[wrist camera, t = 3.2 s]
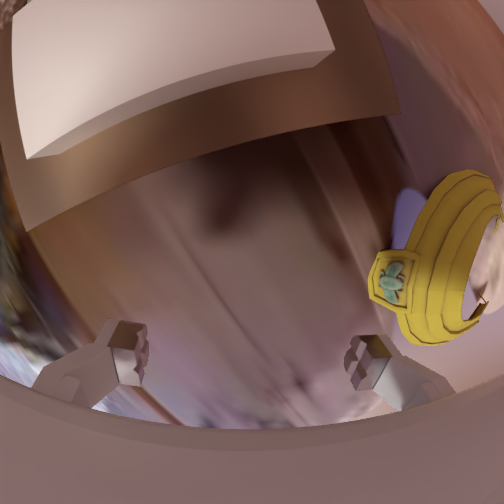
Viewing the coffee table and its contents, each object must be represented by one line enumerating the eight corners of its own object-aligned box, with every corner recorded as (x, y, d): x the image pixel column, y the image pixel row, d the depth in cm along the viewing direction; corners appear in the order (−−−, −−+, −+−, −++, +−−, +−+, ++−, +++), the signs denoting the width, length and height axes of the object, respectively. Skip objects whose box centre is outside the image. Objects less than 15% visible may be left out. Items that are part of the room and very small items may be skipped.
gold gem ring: (346, 275, 15) (379, 316, 11) (465, 132, 12) (512, 138, 9) (424, 355, 19) (448, 387, 15) (510, 250, 16) (540, 269, 13)
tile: (59, 154, 7) (26, 159, 6) (40, 28, 5) (13, 15, 3) (313, 67, 7) (335, 49, 5) (262, -54, 5) (269, -83, 3)
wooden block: (70, 207, 12) (26, 231, 8) (35, 51, 8) (-7, 38, 4) (355, 119, 12) (401, 113, 8) (296, -38, 8) (316, -77, 4)
